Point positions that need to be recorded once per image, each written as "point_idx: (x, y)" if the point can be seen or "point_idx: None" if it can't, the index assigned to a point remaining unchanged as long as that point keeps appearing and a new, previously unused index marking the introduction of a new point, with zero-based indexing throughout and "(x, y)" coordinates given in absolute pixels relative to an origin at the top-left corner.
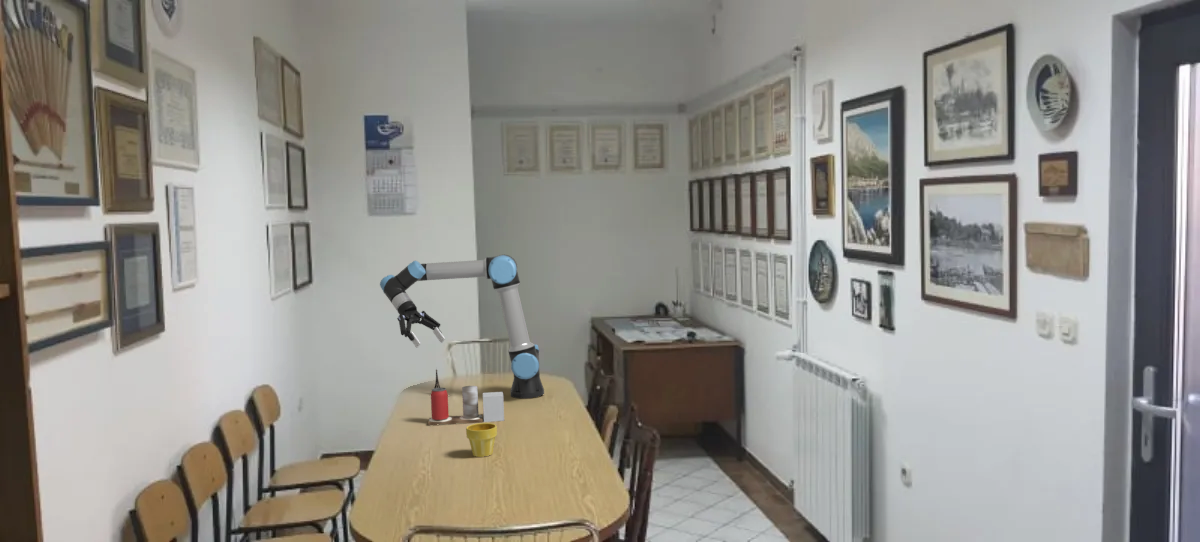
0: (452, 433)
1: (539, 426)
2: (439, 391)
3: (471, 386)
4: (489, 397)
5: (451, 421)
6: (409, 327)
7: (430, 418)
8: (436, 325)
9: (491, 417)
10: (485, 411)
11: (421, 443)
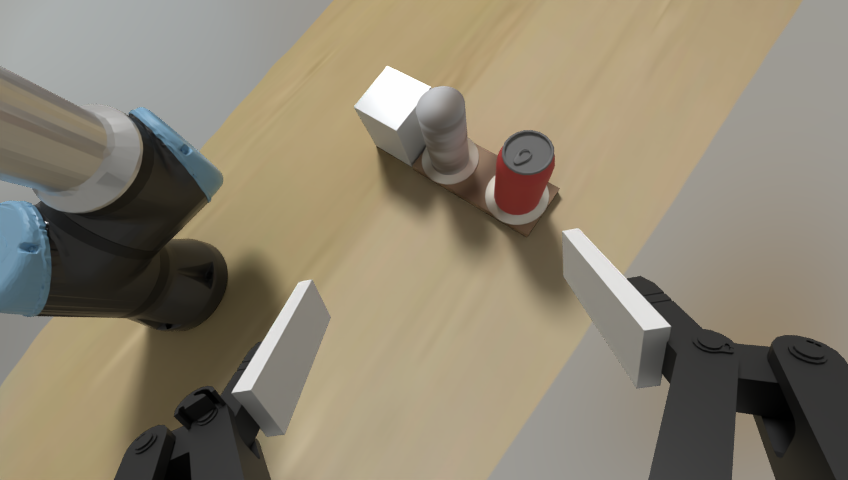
0: (551, 93)
1: (391, 33)
2: (538, 133)
3: (428, 113)
4: (416, 81)
5: None
6: (701, 410)
7: (533, 220)
8: (201, 427)
9: None
10: None
11: (654, 65)
